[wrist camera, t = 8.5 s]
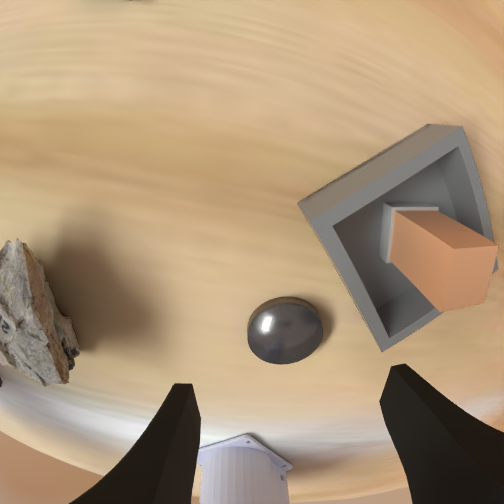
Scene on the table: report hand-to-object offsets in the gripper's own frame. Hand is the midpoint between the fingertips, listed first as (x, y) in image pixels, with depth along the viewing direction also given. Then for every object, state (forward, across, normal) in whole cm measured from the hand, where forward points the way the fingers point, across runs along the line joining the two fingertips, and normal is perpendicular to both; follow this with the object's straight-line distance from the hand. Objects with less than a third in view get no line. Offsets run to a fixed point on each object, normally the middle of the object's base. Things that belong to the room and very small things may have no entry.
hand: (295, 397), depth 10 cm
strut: (+9, -8, -3) cm, 13 cm away
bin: (+10, -8, -3) cm, 13 cm away
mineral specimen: (+10, +17, +1) cm, 20 cm away
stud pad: (+10, -1, +4) cm, 11 cm away
